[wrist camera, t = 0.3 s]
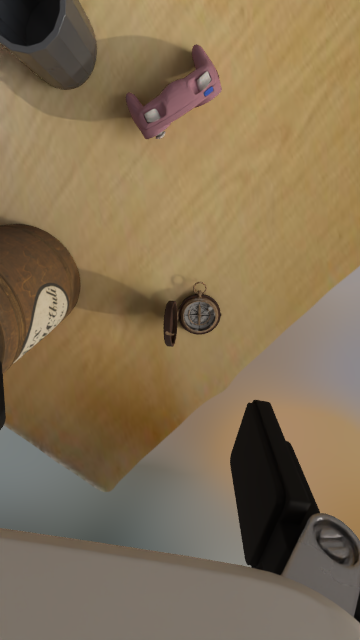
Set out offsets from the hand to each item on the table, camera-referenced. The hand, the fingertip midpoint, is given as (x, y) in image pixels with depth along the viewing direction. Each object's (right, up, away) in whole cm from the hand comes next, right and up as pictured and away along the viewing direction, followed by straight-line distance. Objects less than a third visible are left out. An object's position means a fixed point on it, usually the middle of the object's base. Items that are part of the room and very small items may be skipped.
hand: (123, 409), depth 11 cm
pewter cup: (-11, +33, +20) cm, 41 cm away
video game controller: (+1, +28, +22) cm, 36 cm away
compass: (+4, +5, +31) cm, 32 cm away
